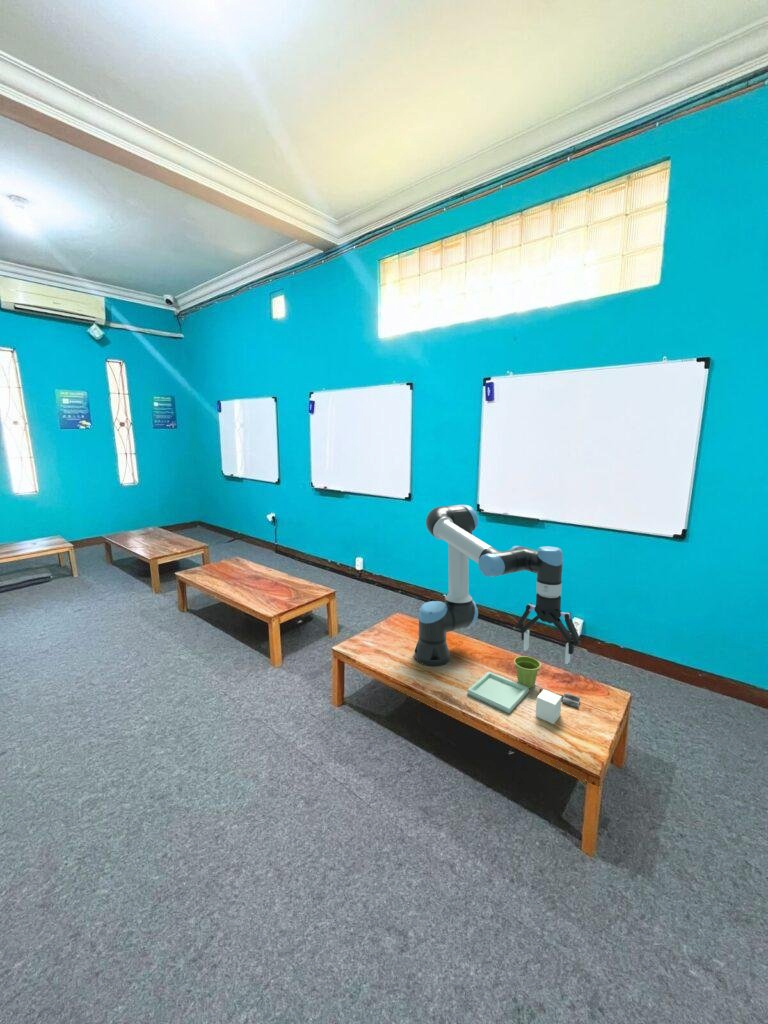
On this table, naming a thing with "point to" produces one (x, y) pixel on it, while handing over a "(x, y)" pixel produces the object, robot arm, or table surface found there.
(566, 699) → the scoop
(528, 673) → the plant pot
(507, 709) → the tray
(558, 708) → the block
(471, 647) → the table surface
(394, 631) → the table surface
